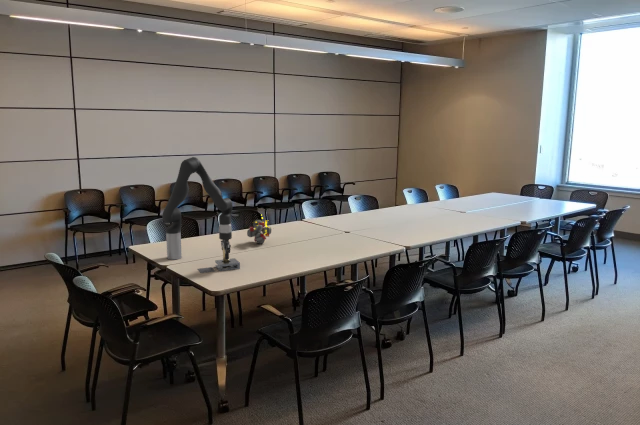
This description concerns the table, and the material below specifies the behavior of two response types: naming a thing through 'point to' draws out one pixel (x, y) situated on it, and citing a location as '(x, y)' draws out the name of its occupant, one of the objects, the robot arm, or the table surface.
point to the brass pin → (224, 257)
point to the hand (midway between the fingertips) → (226, 258)
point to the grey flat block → (227, 264)
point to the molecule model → (256, 231)
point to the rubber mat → (206, 270)
